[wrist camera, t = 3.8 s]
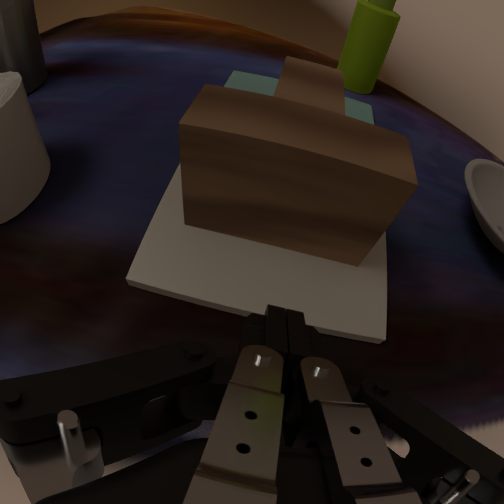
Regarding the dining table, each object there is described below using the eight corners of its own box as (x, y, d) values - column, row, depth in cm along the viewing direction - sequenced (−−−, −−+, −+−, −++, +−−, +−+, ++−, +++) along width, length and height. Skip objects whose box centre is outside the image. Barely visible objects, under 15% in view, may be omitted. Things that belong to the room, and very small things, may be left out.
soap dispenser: (342, 68, 43) (375, -41, 26) (378, 90, 41) (421, -23, 24) (320, 74, 41) (354, -47, 24) (359, 97, 38) (405, -29, 22)
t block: (357, 266, 23) (418, 185, 15) (184, 224, 23) (178, 123, 15) (357, 164, 29) (392, 88, 21) (225, 130, 29) (233, 46, 21)
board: (379, 343, 21) (385, 339, 20) (128, 284, 21) (125, 278, 20) (368, 110, 37) (371, 104, 36) (233, 76, 37) (233, 70, 36)
